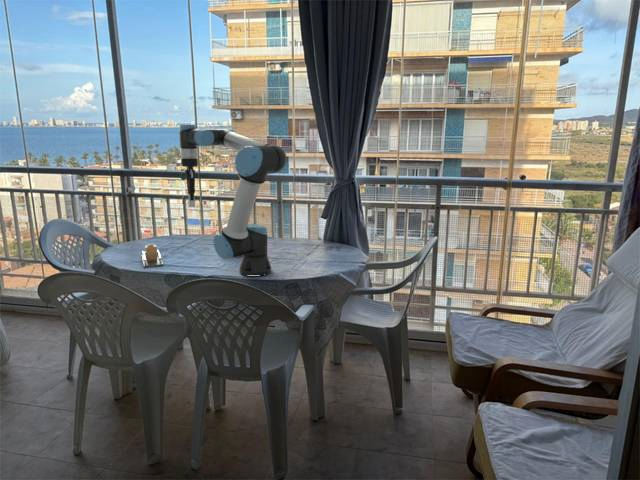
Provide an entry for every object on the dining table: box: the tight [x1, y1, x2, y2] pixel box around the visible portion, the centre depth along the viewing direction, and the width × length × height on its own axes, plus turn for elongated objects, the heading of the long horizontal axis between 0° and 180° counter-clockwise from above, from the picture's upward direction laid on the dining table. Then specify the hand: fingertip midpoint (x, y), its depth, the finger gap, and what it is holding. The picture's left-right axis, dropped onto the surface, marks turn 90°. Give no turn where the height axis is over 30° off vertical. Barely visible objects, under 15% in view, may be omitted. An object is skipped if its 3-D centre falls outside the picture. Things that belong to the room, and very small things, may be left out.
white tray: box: [141, 249, 164, 269], centre depth 225 cm, size 20×9×4 cm, turn 24°
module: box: [144, 244, 158, 261], centre depth 224 cm, size 4×5×8 cm
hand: (192, 206), depth 214 cm, fingers closed
